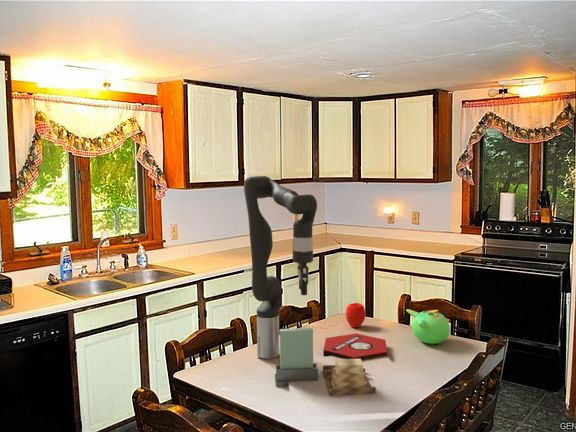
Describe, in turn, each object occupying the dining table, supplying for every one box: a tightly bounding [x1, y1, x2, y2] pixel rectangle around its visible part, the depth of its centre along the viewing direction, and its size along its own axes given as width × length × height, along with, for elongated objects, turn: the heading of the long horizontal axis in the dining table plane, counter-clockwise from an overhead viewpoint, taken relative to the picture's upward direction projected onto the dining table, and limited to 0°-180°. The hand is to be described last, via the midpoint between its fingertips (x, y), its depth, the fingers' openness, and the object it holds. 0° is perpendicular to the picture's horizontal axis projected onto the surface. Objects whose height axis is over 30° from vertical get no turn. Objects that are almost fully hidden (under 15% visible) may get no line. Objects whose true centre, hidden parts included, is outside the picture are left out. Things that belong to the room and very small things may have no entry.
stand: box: [274, 362, 321, 387], centre depth 196 cm, size 16×8×6 cm, turn 94°
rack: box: [320, 364, 377, 397], centre depth 191 cm, size 16×21×4 cm
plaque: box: [322, 333, 388, 361], centre depth 226 cm, size 27×4×30 cm
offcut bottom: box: [332, 375, 367, 389], centre depth 186 cm, size 11×8×3 cm
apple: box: [345, 302, 366, 328], centre depth 259 cm, size 10×10×12 cm
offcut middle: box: [333, 368, 367, 384], centre depth 186 cm, size 10×7×3 cm
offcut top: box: [334, 358, 364, 374], centre depth 186 cm, size 9×6×3 cm, turn 90°
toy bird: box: [405, 308, 451, 345], centre depth 235 cm, size 18×17×15 cm
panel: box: [279, 327, 314, 369], centre depth 195 cm, size 12×2×18 cm, turn 94°
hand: (302, 292), depth 196 cm, fingers open, 8 cm apart
